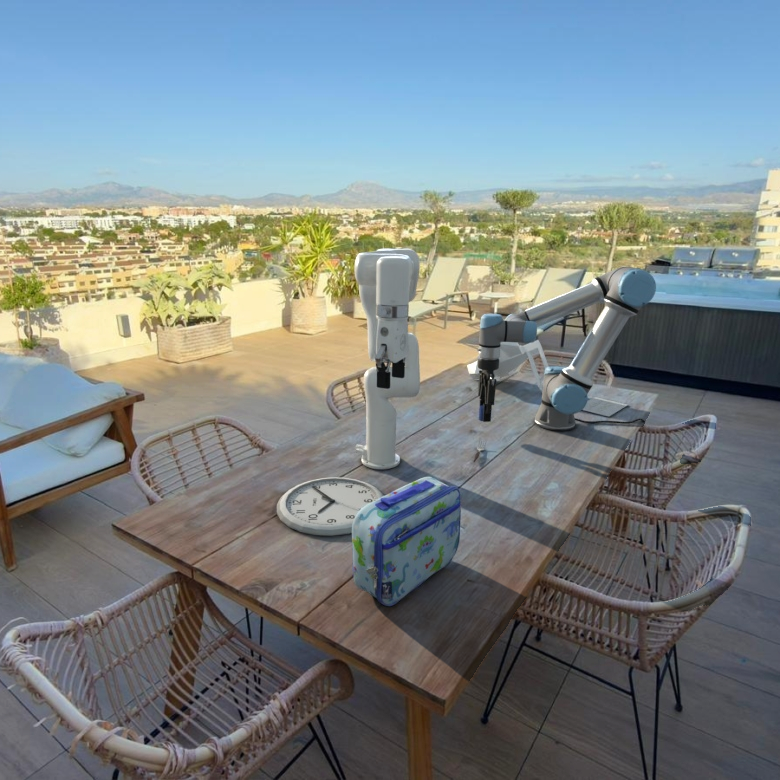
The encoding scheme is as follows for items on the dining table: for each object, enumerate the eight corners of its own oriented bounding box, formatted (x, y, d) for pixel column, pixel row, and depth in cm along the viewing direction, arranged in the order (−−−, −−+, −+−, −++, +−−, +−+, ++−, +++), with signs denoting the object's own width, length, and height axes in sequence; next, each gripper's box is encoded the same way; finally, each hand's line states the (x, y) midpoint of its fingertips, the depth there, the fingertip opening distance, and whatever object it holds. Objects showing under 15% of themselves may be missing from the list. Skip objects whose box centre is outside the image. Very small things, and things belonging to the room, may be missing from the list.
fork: (469, 463, 170) (469, 457, 169) (478, 444, 184) (479, 439, 183) (477, 464, 169) (477, 458, 168) (486, 446, 183) (486, 440, 182)
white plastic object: (488, 421, 262) (468, 398, 237) (469, 348, 284) (449, 320, 260) (560, 397, 250) (547, 371, 225) (534, 322, 272) (520, 291, 247)
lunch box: (381, 619, 101) (382, 525, 95) (345, 592, 109) (344, 503, 102) (464, 563, 119) (469, 480, 113) (428, 543, 126) (432, 464, 120)
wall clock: (392, 527, 129) (268, 531, 127) (391, 533, 130) (269, 537, 127) (383, 473, 158) (282, 475, 155) (383, 478, 158) (282, 480, 156)
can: (476, 418, 195) (477, 405, 193) (486, 416, 197) (487, 404, 195) (482, 422, 191) (483, 409, 190) (493, 420, 193) (494, 407, 191)
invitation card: (608, 416, 214) (573, 407, 224) (608, 416, 214) (573, 408, 224) (628, 404, 229) (594, 396, 238) (628, 405, 229) (594, 397, 238)
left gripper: (394, 318, 112) (392, 394, 117) (419, 307, 127) (417, 375, 133) (362, 315, 115) (362, 390, 120) (390, 305, 130) (389, 372, 135)
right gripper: (471, 352, 195) (468, 411, 202) (485, 364, 178) (481, 427, 185) (491, 351, 196) (487, 410, 203) (507, 363, 179) (502, 427, 186)
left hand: (391, 382), depth 126 cm, fingers open, 9 cm apart
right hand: (484, 418), depth 194 cm, fingers closed on can, 4 cm apart
